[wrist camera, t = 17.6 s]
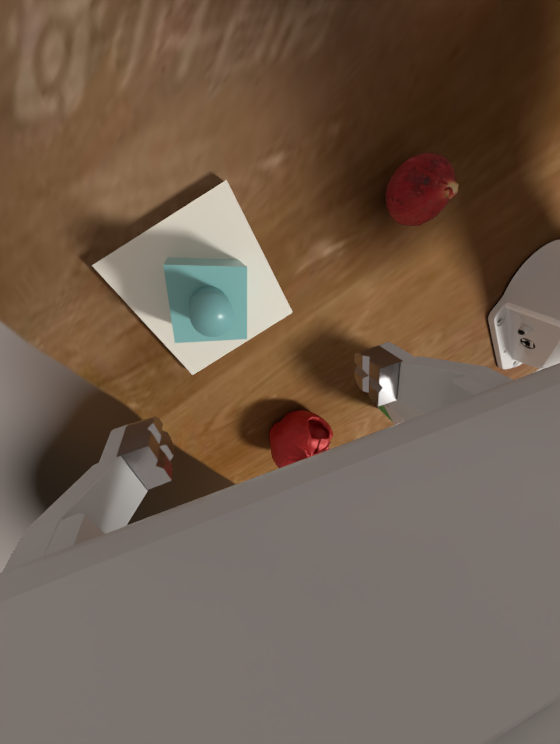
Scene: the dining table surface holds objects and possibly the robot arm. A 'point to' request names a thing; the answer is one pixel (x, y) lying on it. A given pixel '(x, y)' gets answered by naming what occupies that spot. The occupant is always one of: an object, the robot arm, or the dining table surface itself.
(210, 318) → the teal knobbed block
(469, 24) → the dining table surface
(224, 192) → the post stand
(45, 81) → the dining table surface
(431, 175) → the onion
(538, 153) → the dining table surface
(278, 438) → the pomegranate
